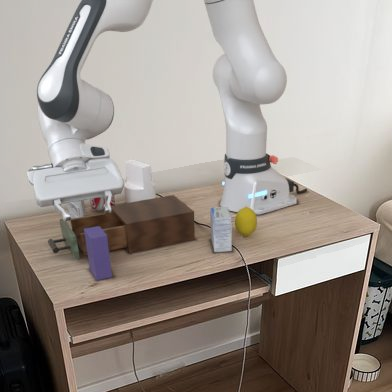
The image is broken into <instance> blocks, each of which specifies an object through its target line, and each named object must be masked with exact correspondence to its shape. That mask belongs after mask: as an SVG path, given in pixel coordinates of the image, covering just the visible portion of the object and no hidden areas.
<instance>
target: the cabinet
mask: <svg viewBox="0 0 392 392" xmlns="http://www.w3.org/2000/svg"><path fill="white" fill-rule="evenodd" d="M111 212H114V214H115V215H116V216H117V217H118V218H119V219H120V220H121V221H122V222H123V223H124V225H125V226H126V235H127V244H128V247H124V249H125V250H126V251H127V253H129V254H133V253H138V252H142V251H143V252H144V251H148V250H153V249H157V248H163V247H168V246H171V245H177V244H178V245H179V244H182V243H187V242H192V241H195V240H196V231H195V230H196V229H195V227H196V226H195V211H194V210H193V209H192V208H190V206H188V205H187V204H186V203H184V202H183V201H182V200H181V199H179V197H177V196H175V195H174V194H171V195H165V196H160V197H156V198H153V199H147V200H141V201H136V202H130V203H126V202H124V203H119V204H115V205H112V206H111Z"/></svg>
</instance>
